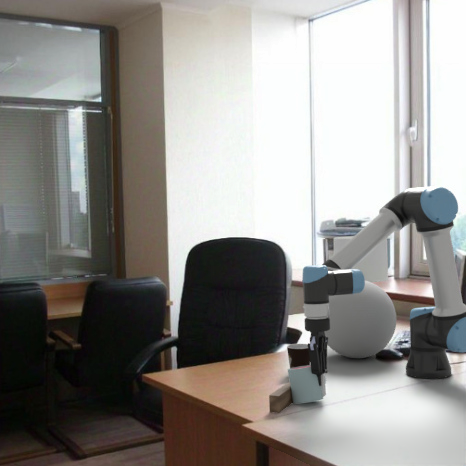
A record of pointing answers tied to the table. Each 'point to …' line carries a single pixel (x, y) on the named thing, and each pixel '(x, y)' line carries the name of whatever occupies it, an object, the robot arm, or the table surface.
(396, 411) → the table surface
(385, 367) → the table surface
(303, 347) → the coffee mug
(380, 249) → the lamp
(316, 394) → the mug
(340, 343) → the sphere
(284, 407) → the batten
